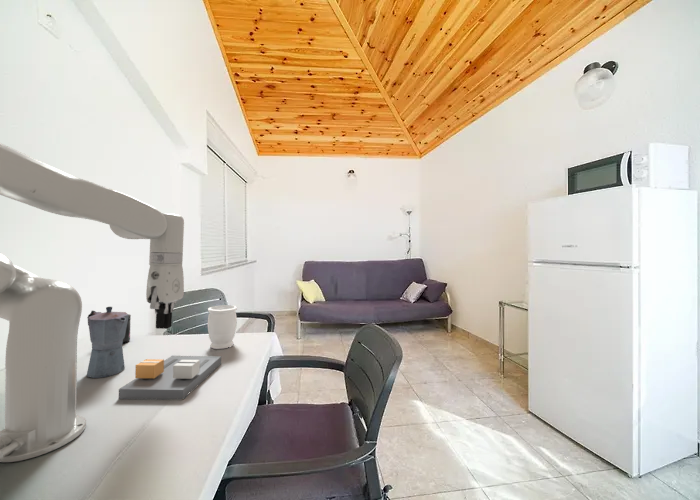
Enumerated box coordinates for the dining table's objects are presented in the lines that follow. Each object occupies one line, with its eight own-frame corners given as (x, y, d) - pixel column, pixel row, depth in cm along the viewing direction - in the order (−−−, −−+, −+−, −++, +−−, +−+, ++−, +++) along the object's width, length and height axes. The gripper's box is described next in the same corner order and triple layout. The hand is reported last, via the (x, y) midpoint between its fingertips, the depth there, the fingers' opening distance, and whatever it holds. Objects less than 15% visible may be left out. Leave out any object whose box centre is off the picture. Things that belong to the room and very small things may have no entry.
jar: (242, 344, 111) (242, 307, 111) (217, 352, 103) (218, 311, 103) (225, 339, 117) (226, 303, 117) (201, 346, 108) (202, 307, 108)
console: (182, 399, 71) (183, 389, 71) (118, 399, 71) (118, 388, 71) (221, 363, 93) (221, 356, 93) (172, 363, 93) (172, 355, 93)
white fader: (191, 378, 76) (192, 365, 76) (173, 378, 76) (173, 365, 76) (199, 372, 80) (199, 359, 80) (181, 371, 80) (181, 359, 80)
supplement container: (131, 343, 111) (131, 316, 111) (108, 346, 106) (108, 319, 106) (129, 338, 116) (130, 313, 116) (108, 342, 111) (108, 315, 111)
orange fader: (154, 378, 76) (154, 365, 76) (135, 378, 76) (135, 364, 76) (163, 371, 80) (163, 359, 80) (145, 371, 80) (146, 358, 80)
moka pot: (108, 382, 79) (109, 311, 79) (66, 376, 82) (67, 307, 82) (140, 368, 89) (141, 304, 88) (101, 363, 92) (102, 301, 92)
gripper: (165, 260, 69) (162, 336, 69) (193, 259, 84) (191, 321, 84) (132, 259, 68) (129, 335, 68) (167, 258, 83) (164, 320, 83)
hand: (163, 327), depth 76 cm, fingers closed
